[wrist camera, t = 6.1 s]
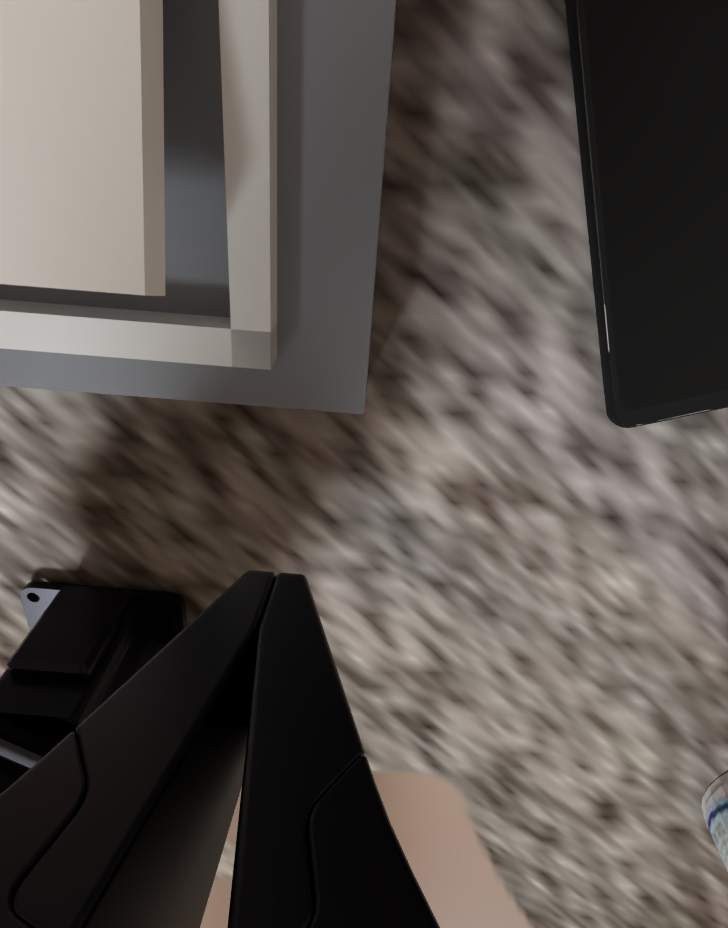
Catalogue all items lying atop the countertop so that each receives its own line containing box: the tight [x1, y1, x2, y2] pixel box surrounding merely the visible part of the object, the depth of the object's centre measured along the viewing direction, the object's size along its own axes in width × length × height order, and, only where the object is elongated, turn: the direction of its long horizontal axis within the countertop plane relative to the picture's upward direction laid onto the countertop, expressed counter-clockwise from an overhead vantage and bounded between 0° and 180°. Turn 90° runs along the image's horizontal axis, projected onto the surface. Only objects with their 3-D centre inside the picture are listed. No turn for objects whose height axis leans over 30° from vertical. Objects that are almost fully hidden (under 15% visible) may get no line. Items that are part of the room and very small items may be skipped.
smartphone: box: [565, 0, 728, 428], centre depth 17 cm, size 7×1×15 cm
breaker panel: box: [0, 0, 397, 415], centre depth 14 cm, size 17×15×4 cm
